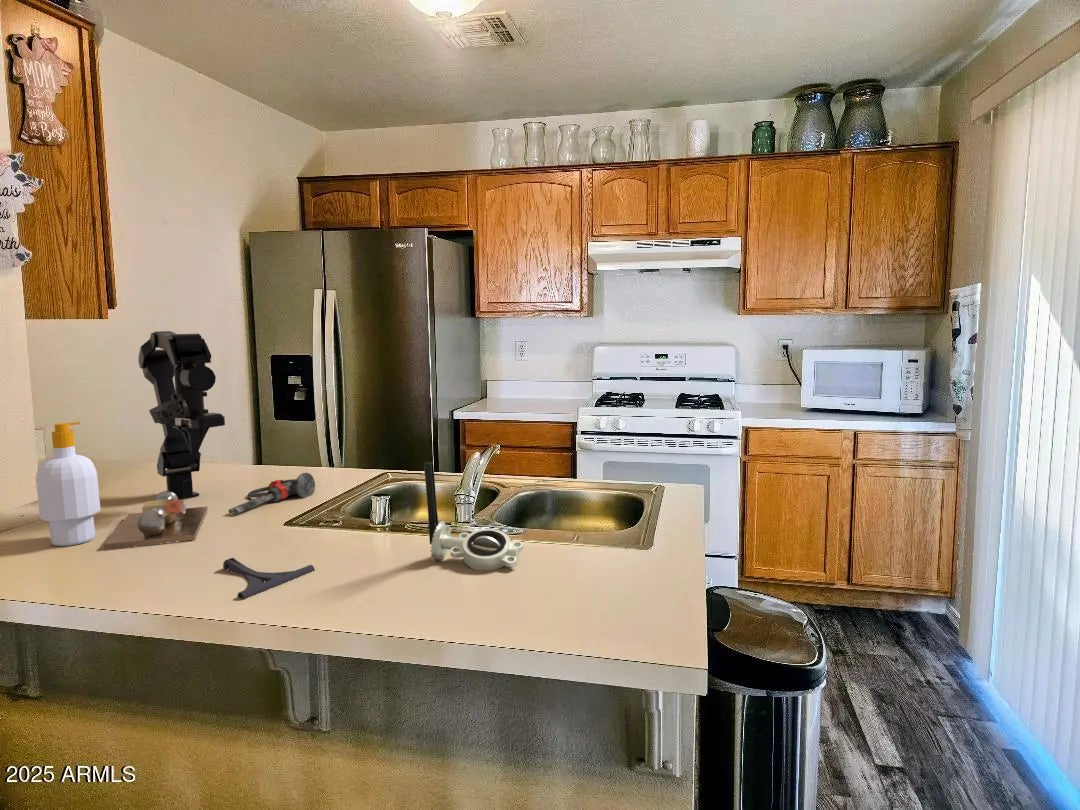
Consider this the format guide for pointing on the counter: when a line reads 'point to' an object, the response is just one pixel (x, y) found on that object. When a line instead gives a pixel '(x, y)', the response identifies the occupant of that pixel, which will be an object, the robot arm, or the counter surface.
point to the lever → (176, 507)
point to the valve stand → (157, 524)
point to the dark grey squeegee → (262, 577)
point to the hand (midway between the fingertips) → (194, 454)
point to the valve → (279, 491)
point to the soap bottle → (67, 491)
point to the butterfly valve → (468, 538)
